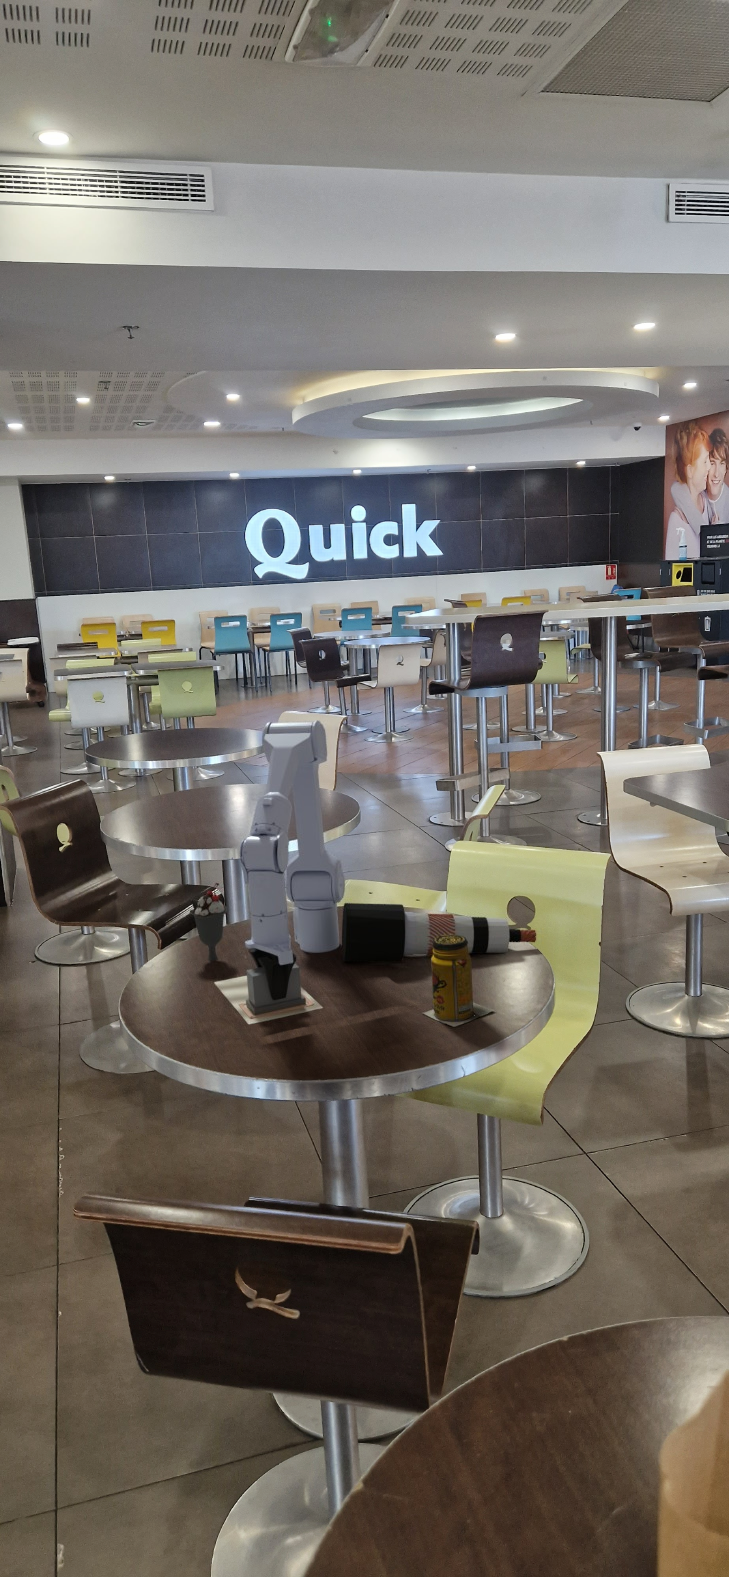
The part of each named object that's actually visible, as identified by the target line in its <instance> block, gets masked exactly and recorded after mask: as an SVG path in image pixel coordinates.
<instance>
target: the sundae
mask: <svg viewBox="0 0 729 1577" xmlns="http://www.w3.org/2000/svg"><path fill="white" fill-rule="evenodd" d="M218 886H220V883H219V882H215V884H214V885H213V887H211V889H210V890H208V891H207V892H206V894H205V895H204V894H203V895H202V896H200V898H199V899H198V900H197V899H193V898H191V899H190V902H191V905H192V908H193V909H190V910H189V914H190V915H192V916H193V917H194V921H195V925H196V929H197V934H198V938H199V941H201V943H202V944H204V945H205V946H207V948H208V957H207V961H209V962H215V961H218V960H219V957H218V956H217V953H216V952H217V951H216V946H217V945H218V944H219V943H220V942H221V940H222V939H223V935H224V934H223V933H224V917H225V914H226V913H228V907H227V905H225V904H223V902H222V901H220V900H219V899H220V897H219V895H217V894H216V888H217V887H218Z"/></svg>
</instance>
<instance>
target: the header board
mask: <svg viewBox="0 0 729 1577" xmlns="http://www.w3.org/2000/svg"><path fill="white" fill-rule="evenodd" d="M213 984H214V985H215V986H216V987H217V988H218V990H219V991H220V992H221V993H222V994H223V995H224V997H225V998H226V999H227V1000H228V1002H229V1003H230V1004H231V1005H232V1007H233V1008H234V1009H235V1010H236V1012H238V1013H239V1015H240V1016H241V1017H242V1018H243V1020H244V1021H245V1022H246V1023H247V1024H248V1025H252V1024H257V1023H262V1022H266V1021H270V1020H271V1021H272V1020H276V1019H280V1018H284V1017H288V1016H289V1017H290V1016H293V1015H299V1014H302V1013H308V1012H311V1011H315V1010H316V1011H317V1010H321V1009H324V1007H323V1006H322V1005H321V1004H320V1003H319V1002H318V1001H317V1000H316V999H314V998H313V997H312V996H311V995H310V994H309V993H308V992H307V991H306V990H305V989H304V988H303V987H302V986H301V998H297V999H292V1000H287V1001H283V1002H278V1003H273V1004H269V1005H264V1006H260V1007H254V1006H253V1005H252V1004H251V1002H250V1001H249V996H248V984H247V975H243V976H238V977H232V978H229V979H228V978H227V979H224V980H223V979H222V980H218V981H214V982H213Z"/></svg>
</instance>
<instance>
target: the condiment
mask: <svg viewBox="0 0 729 1577" xmlns="http://www.w3.org/2000/svg"><path fill="white" fill-rule="evenodd" d="M467 945H468V941H467V939H466V938H465V937H463V936H460V935H442V936H439V937H437V938H435V939H434V940H433V954H434V955H432V956H431V958H430V963H431V964H430V965H431V966H430V967H431V968H430V969H431V981H432V982H431V983H432V984H431V986H432V987H431V988H432V1002H433V1005H432V1006H433V1008H432V1009H430V1010H428V1011H425V1012H422V1014H424V1015H425V1016H427V1017H429V1018H431V1019H434V1020H435V1021H438V1022H441V1023H442V1024H447V1026H448V1025H449V1026H451V1027H453V1028H454V1027H458V1026H460V1025H463V1024H466V1023H468V1022H471V1021H473V1020H475V1019H477V1018H479V1017H483V1016H485V1015H487V1014H489V1013H491V1012H494V1011H495V1009H493V1008H489V1007H486V1006H483V1005H481V1004H479V1003H478V1004H477V1003H476V1002H474V994H473V992H474V991H473V990H474V989H473V974H472V973H473V972H472V969H473V968H472V956H471V955H470V954H468V946H467ZM474 1015H475V1016H474Z"/></svg>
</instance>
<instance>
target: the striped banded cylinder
mask: <svg viewBox="0 0 729 1577" xmlns="http://www.w3.org/2000/svg"><path fill="white" fill-rule="evenodd" d="M404 908H405V906H404V905H403V904H397V903H395V904H393V903H390V904H389V903H362V902H361V903H360V902H357V903H356V902H354V903H353V902H345V903H344V904H343V909H342V922H341V955H342V956H341V958H342V961H343V962H367V963H403V960H404V956H413V955H426V957H427V956H431V955H432V956H433V955H434V954H433V940H434V939H435V938H437V937H439V936H442V935H460V936H463V937H465V938H466V939H467V941H468V945H467V946H468V954H469V955H470V954H473V953H474V954H486V953H490V954H491V953H492V954H493V953H495V954H496V953H498V954H499V953H500V954H501V953H502V954H507V952H508V950H509V945H510V943H536V942H537V931H536V929H520V928H510V926H509V921H508V919H507V918H504V917H502V918H501V917H486V916H484V917H483V916H471V915H453V914H452V913H448V914H447V913H425V912H424V913H422V912H421V913H419V912H417V913H416V912H414V911H405V909H404Z"/></svg>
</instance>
